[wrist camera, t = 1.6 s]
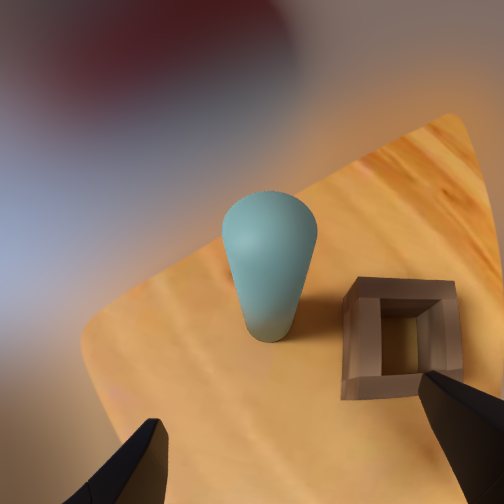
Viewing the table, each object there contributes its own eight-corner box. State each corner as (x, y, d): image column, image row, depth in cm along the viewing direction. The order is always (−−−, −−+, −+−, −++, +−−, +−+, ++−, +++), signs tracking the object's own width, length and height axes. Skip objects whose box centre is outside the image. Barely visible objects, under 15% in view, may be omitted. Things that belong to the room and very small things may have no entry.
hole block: (432, 393, 18) (463, 388, 14) (340, 400, 19) (357, 399, 15) (428, 301, 22) (454, 280, 18) (343, 298, 23) (358, 276, 19)
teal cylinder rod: (290, 343, 21) (317, 275, 10) (243, 340, 22) (214, 268, 10) (293, 299, 23) (316, 194, 12) (248, 296, 23) (229, 189, 12)
